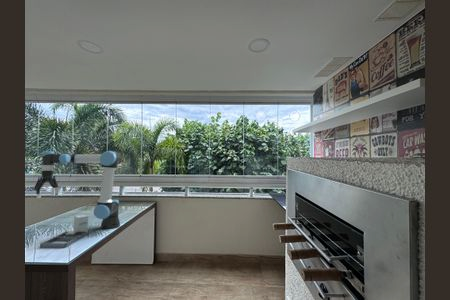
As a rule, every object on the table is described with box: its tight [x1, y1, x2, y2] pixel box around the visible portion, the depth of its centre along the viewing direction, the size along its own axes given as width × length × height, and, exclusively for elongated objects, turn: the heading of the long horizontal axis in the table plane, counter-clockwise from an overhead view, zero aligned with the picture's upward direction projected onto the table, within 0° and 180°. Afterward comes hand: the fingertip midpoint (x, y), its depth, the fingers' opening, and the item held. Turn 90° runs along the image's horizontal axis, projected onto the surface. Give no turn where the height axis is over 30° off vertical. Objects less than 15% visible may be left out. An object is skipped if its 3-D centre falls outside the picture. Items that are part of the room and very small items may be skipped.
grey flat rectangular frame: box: [39, 230, 89, 249], centre depth 165 cm, size 27×16×2 cm, turn 3°
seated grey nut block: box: [64, 230, 79, 237], centre depth 171 cm, size 6×6×4 cm
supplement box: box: [72, 214, 89, 232], centre depth 185 cm, size 7×7×13 cm
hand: (45, 196), depth 188 cm, fingers open, 13 cm apart
